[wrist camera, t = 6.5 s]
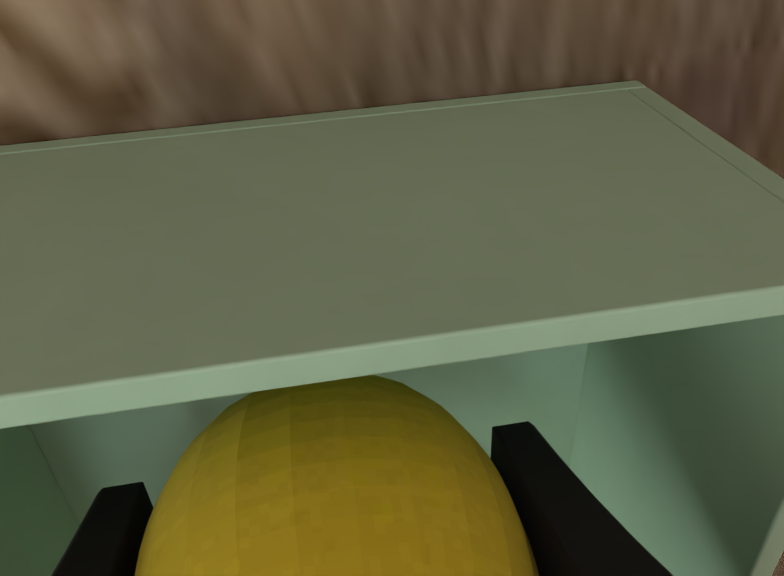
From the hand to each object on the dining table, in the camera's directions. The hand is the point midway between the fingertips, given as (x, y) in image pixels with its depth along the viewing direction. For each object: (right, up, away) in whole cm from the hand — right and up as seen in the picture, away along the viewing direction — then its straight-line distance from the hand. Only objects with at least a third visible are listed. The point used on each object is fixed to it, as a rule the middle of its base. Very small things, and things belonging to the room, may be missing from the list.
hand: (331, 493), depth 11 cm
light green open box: (0, -1, +5) cm, 5 cm away
